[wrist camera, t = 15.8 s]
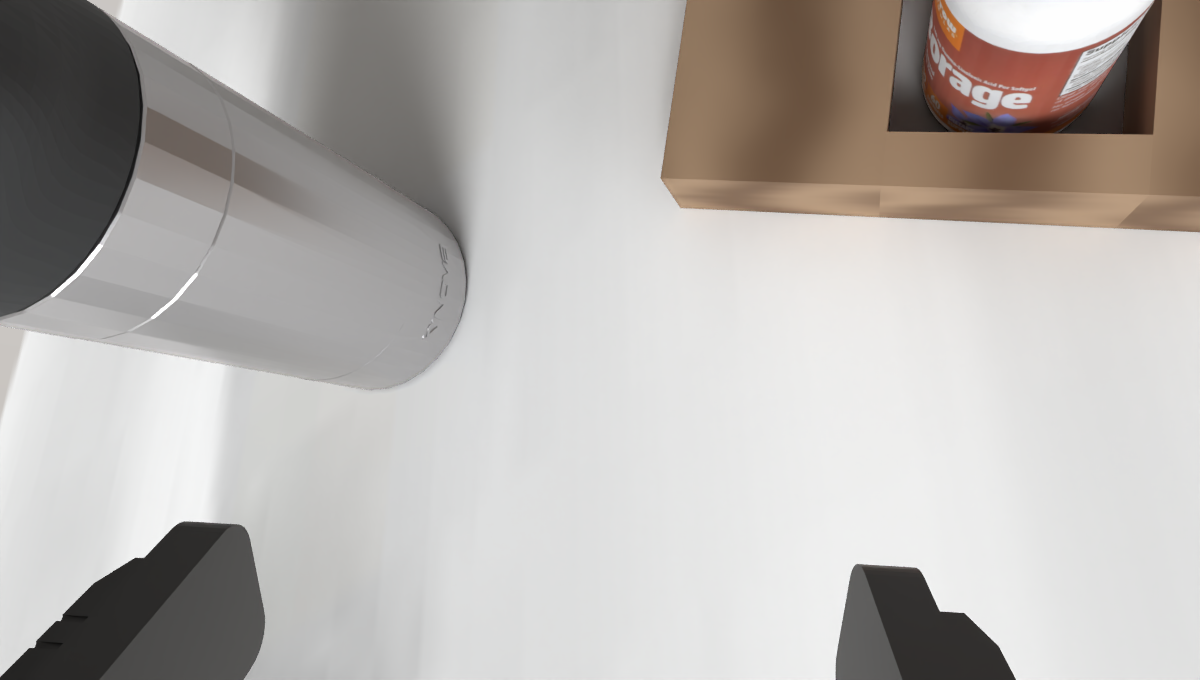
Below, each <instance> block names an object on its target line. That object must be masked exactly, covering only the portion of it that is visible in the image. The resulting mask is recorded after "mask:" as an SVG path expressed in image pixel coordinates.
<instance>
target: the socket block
mask: <svg viewBox="0 0 1200 680" xmlns="http://www.w3.org/2000/svg"><path fill="white" fill-rule="evenodd" d="M902 6H903V0H687V4H686V11H685V18H684V24H683V31H682V38H681V45H680V51H679V58H678V65H677V72H676V78H675V85H674V92H673V99H672V105H671V112H670V119H669V126H668V132H667V139H666V146H665V153H664V159H663V166H662V173H661V179H662V181H663V182H664V184H665V185H666V187H667V188H668V190H669V191H670V193H671V194H672V196H673V197H674V199H675V200H676V202H677V203H678V205H679V206H680V208H696V209H717V210H739V211H760V212H781V213H803V214H824V215H845V216H867V217H888V218H910V219H931V220H952V221H974V222H995V223H1017V224H1038V225H1059V226H1081V227H1102V228H1123V229H1145V230H1166V231H1188V232H1200V0H1155V1H1154V2H1153V4H1152V5H1151V7H1150V8H1149V10H1148V11H1147V13H1146V14H1145V16H1144V18H1143V19H1142V21H1141V22H1140V24H1139V26H1138V27H1137V29H1136V30H1135V32H1134V34H1133V35H1132V37H1131V38H1130V40H1129V50H1128V64H1127V78H1126V91H1125V105H1124V119H1123V133H1122V134H1053V133H968V132H889V123H890V114H891V105H892V96H893V87H894V78H895V69H896V60H897V51H898V42H899V33H900V24H901V15H902Z"/></svg>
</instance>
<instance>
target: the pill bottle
mask: <svg viewBox="0 0 1200 680" xmlns="http://www.w3.org/2000/svg"><path fill="white" fill-rule="evenodd" d="M1154 1H1155V0H933V4H932V11H931V17H930V23H929V29H928V34H927V41H926V46H925V52H924V58H923V64H922V88H923V93H924V97H925V100H926V102H927V104H928V107H929V108H930V110H931V112H932V113H933V115H934V116H935V118H936V119H937V120H938V121H939V122H940V123H941V124H942V125H943V126H944V127H945V128H946V129H948V130H949V131H950V132H968V133H1053V134H1056V133H1058V132H1060V131H1061V130H1063V129H1064V128H1066V127H1067V126H1068V125H1070V124H1071V123H1072V122H1073V121H1074V120H1075V119H1077V118H1078V117H1079V116H1080V115H1081V114H1082V112H1083V111H1084V110H1085V109H1086V108H1087V106H1088V105H1089V103H1090V102H1091V101H1092V99H1093V98H1094V96H1095V94H1096V93H1097V91H1098V90H1099V88H1100V87H1101V85H1102V83H1103V82H1104V80H1105V78H1106V77H1107V75H1108V74H1109V72H1110V70H1111V69H1112V67H1113V65H1114V64H1115V62H1116V61H1117V59H1118V57H1119V56H1120V54H1121V53H1122V51H1123V50H1124V48H1125V46H1126V45H1127V43H1128V42H1129V40H1130V38H1131V37H1132V35H1133V34H1134V32H1135V30H1136V29H1137V27H1138V26H1139V24H1140V22H1141V21H1142V19H1143V18H1144V16H1145V14H1146V13H1147V11H1148V10H1149V8H1150V7H1151V5H1152V4H1153V2H1154Z"/></svg>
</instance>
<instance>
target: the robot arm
mask: <svg viewBox="0 0 1200 680" xmlns="http://www.w3.org/2000/svg"><path fill="white" fill-rule="evenodd" d="M465 291H466V275H465V266H464V260H463V257H462V254H461V251H460V248H459V245H458V243H457V241H456V240H455V238H454V236H453V235H452V233H451V231H450V230H449V228H448V227H447V226H446V225H445V224H444V223H443V222H442V221H441V220H440V219H439V218H438V217H437V216H436V215H434V214H433V213H431V212H430V211H428V210H426V209H425V208H423V207H422V206H420V205H418V204H417V203H415V202H414V201H412V200H410V199H409V198H407V197H406V196H404V195H402V194H401V193H399V192H397V191H396V190H394V189H393V188H391V187H389V186H388V185H387V184H385V183H384V182H382V181H381V180H379V179H377V178H376V177H374V176H372V175H371V174H369V173H368V172H366V171H364V170H363V169H361V168H359V167H358V166H356V165H355V164H353V163H351V162H350V161H348V160H346V159H345V158H343V157H342V156H340V155H338V154H337V153H335V152H333V151H332V150H330V149H329V148H327V147H325V146H324V145H322V144H320V143H319V142H317V141H316V140H314V139H312V138H311V137H309V136H307V135H306V134H304V133H303V132H301V131H299V130H298V129H296V128H294V127H293V126H291V125H290V124H288V123H286V122H285V121H283V120H282V119H280V118H278V117H277V116H275V115H273V114H272V113H270V112H269V111H267V110H265V109H264V108H262V107H260V106H259V105H257V104H256V103H254V102H252V101H251V100H249V99H247V98H246V97H244V96H243V95H241V94H239V93H238V92H236V91H234V90H233V89H231V88H230V87H228V86H226V85H225V84H223V83H221V82H220V81H218V80H217V79H215V78H213V77H212V76H210V75H208V74H207V73H205V72H204V71H202V70H200V69H199V68H197V67H195V66H194V65H192V64H191V63H188V62H186V61H185V60H183V59H182V58H180V57H178V56H177V55H175V54H173V53H172V52H170V51H169V50H167V49H165V48H164V47H162V46H160V45H159V44H157V43H156V42H154V41H152V40H151V39H149V38H147V37H146V36H144V35H142V34H141V33H139V32H138V31H136V30H134V29H133V28H131V27H129V26H128V25H126V24H125V23H123V22H121V21H120V20H118V19H116V18H115V17H113V16H112V15H110V14H108V13H107V12H105V11H103V10H102V9H100V8H98V7H96V6H95V5H94V4H92V3H90V2H89V1H87V0H0V326H5V327H11V328H16V329H22V330H28V331H33V332H39V333H45V334H50V335H56V336H62V337H67V338H73V339H82V340H87V341H93V342H99V343H104V344H110V345H116V346H121V347H127V348H133V349H138V350H144V351H150V352H155V353H161V354H167V355H172V356H178V357H184V358H189V359H195V360H201V361H206V362H212V363H218V364H223V365H229V366H234V367H240V368H246V369H251V370H257V371H263V372H268V373H274V374H280V375H285V376H291V377H297V378H301V379H306V380H312V381H318V382H324V383H330V384H336V385H342V386H348V387H354V388H360V389H366V390H375V389H387V388H390V387H393V386H396V385H399V384H402V383H405V382H407V381H409V380H410V379H412V378H414V377H415V376H417V375H419V374H420V373H422V372H423V371H424V370H425V369H426V368H427V367H429V366H430V365H431V364H432V363H433V362H434V361H435V360H436V359H437V358H438V357H439V355H440V354H441V353H442V351H443V350H444V349H445V347H446V346H447V345H448V343H449V342H450V340H451V338H452V336H453V334H454V332H455V330H456V328H457V326H458V324H459V321H460V317H461V313H462V310H463V306H464V302H465ZM264 629H265V614H264V608H263V603H262V598H261V593H260V588H259V583H258V578H257V573H256V568H255V563H254V557H253V552H252V547H251V542H250V538H249V535H248V532H247V531H246V529H245V528H244V527H243V526H241V525H237V524H221V523H204V522H181V523H179V524H177V525H176V526H175V527H174V528H172V529H171V530H170V532H169V533H168V534H167V535H166V536H165V537H164V538H163V539H162V540H161V541H160V542H159V543H158V544H157V545H156V546H155V547H154V548H153V549H152V550H151V551H150V553H149V554H148V555H147V556H146V557H145V558H134V559H133V560H131V561H129V562H128V563H126V564H125V565H123V566H121V567H120V568H118V569H116V570H115V571H113V572H112V573H110V574H108V575H107V576H105V577H104V578H102V579H100V580H99V581H97V582H95V583H94V584H93V585H92V586H91V587H90V588H89V589H88V590H87V591H86V592H85V593H84V594H83V595H82V596H81V597H80V598H79V599H78V600H77V601H76V602H75V603H74V604H73V605H72V606H71V607H70V608H69V609H68V610H67V611H66V612H65V613H64V614H63V618H62V620H61V621H56V622H55V623H54V624H53V625H52V626H51V627H50V628H49V629H48V630H47V631H46V632H45V633H44V634H43V635H42V636H41V637H40V638H39V639H38V640H37V641H36V646H35V648H29V649H28V650H27V651H26V652H25V653H24V654H23V655H22V656H21V657H20V658H19V659H18V660H17V661H16V662H15V663H14V664H13V665H12V666H11V667H10V668H9V669H8V670H7V671H6V672H5V673H4V674H3V675H2V676H1V677H0V680H244V678H245V676H246V675H247V673H248V672H249V670H250V669H251V667H252V665H253V664H254V662H255V660H256V658H257V656H258V653H259V650H260V647H261V644H262V640H263V635H264ZM836 680H1016V679H1015V677H1014V675H1013V673H1012V671H1011V669H1010V667H1009V666H1008V664H1007V662H1006V660H1005V658H1004V656H1003V654H1002V652H1001V650H1000V648H999V646H998V645H997V644H996V643H994V642H993V641H992V640H991V639H990V638H989V637H988V636H987V635H986V634H985V633H984V632H983V631H982V630H981V629H980V628H979V627H978V626H977V625H976V624H975V623H974V622H973V621H972V620H971V619H970V618H969V617H968V616H967V615H966V614H964V613H953V612H940V611H939V609H938V607H937V605H936V603H935V600H934V598H933V596H932V594H931V592H930V589H929V587H928V585H927V583H926V581H925V578H924V576H923V575H922V573H921V572H920V570H919V569H917V568H912V567H896V566H879V565H863V564H857V565H855V566H854V568H853V570H852V573H851V576H850V581H849V587H848V593H847V599H846V604H845V610H844V616H843V622H842V627H841V633H840V639H839V644H838V650H837V657H836Z"/></svg>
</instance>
